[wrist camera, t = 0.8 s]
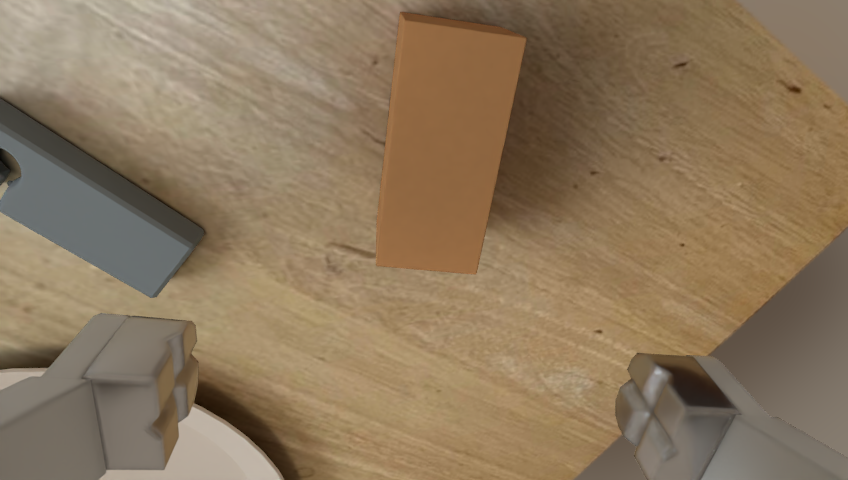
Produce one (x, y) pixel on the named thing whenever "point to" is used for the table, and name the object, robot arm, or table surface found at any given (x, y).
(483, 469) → the table surface
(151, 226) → the bracket
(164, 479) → the plate
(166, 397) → the robot arm
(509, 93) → the brown rectangular block
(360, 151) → the table surface
